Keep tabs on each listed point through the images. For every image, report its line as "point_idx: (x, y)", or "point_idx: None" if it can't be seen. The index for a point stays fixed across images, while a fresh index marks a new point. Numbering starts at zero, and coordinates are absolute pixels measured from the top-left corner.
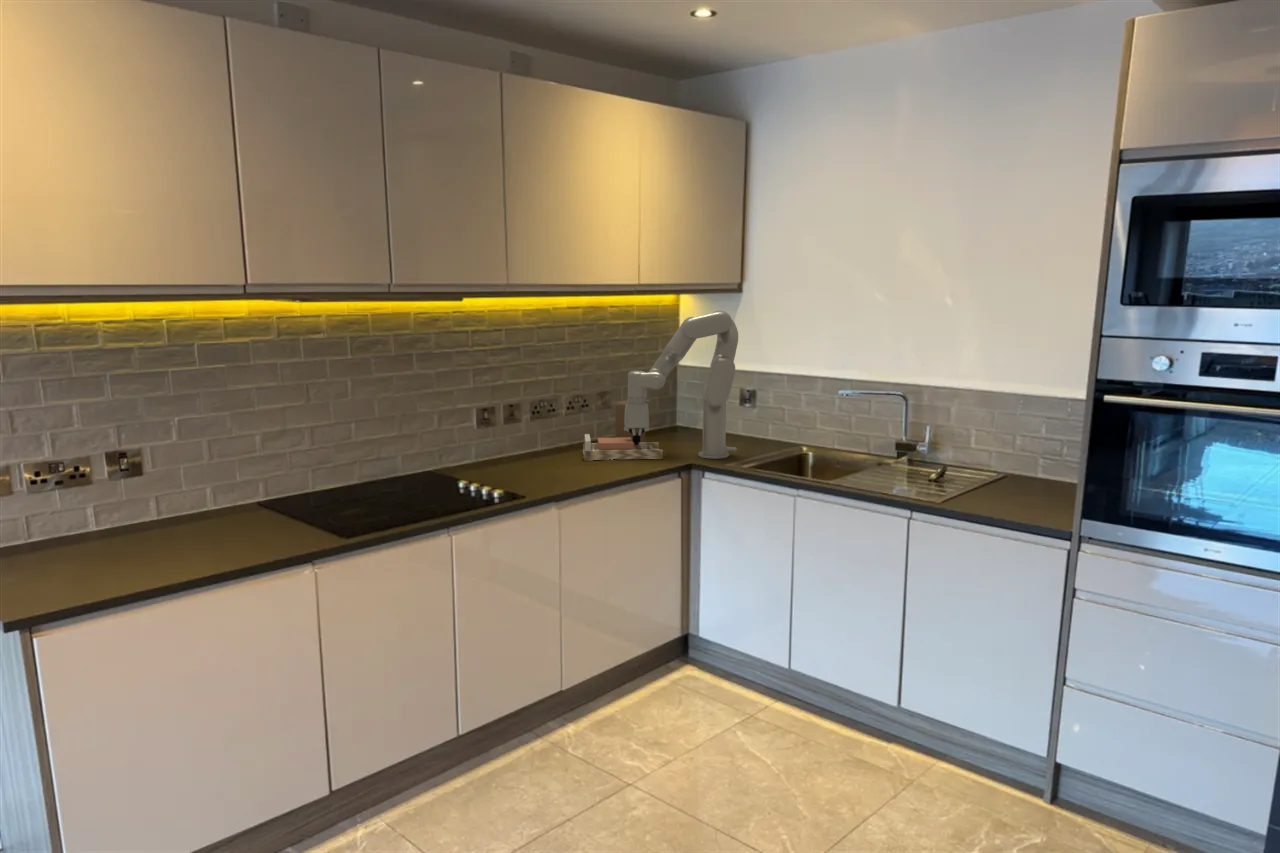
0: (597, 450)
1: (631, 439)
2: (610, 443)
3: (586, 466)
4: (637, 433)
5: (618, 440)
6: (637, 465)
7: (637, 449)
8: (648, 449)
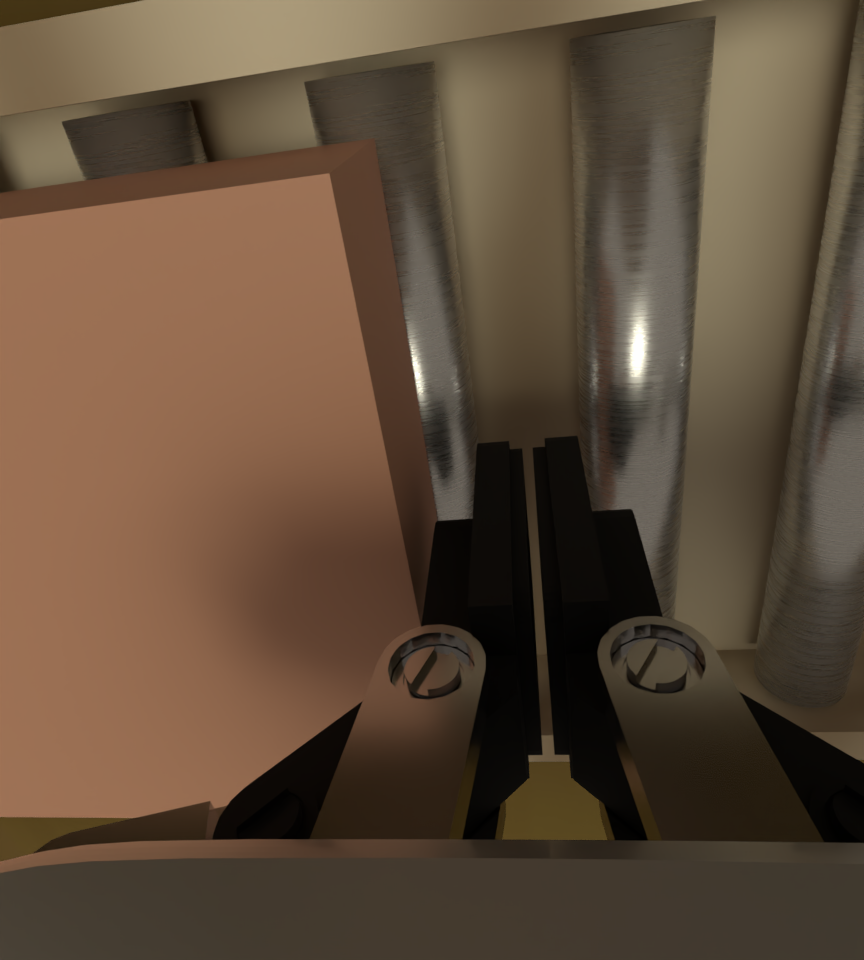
0: None
1: (390, 523)
2: (41, 810)
3: (43, 832)
4: (581, 731)
5: (87, 629)
6: (524, 833)
7: (561, 105)
8: (799, 421)
